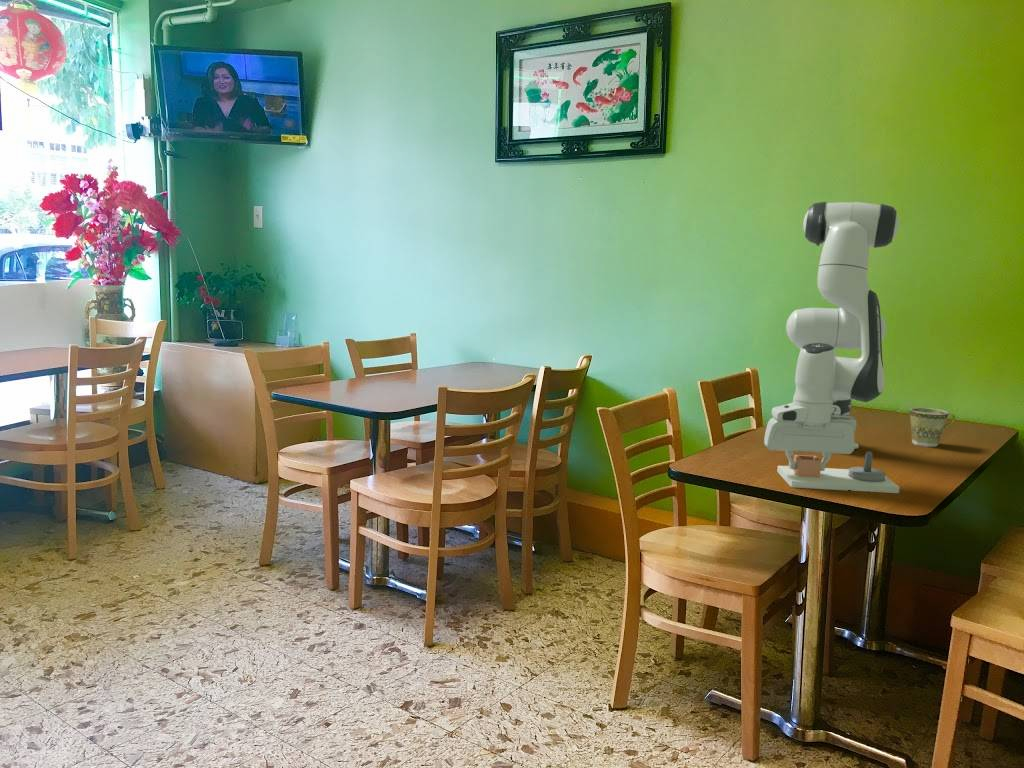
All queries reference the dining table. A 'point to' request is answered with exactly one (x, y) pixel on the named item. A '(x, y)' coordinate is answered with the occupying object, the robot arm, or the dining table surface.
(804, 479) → the board
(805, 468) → the collar
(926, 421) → the ceramic cup
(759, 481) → the dining table surface
